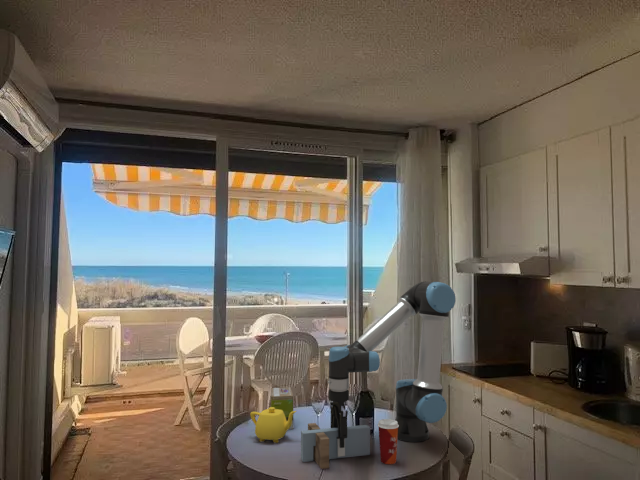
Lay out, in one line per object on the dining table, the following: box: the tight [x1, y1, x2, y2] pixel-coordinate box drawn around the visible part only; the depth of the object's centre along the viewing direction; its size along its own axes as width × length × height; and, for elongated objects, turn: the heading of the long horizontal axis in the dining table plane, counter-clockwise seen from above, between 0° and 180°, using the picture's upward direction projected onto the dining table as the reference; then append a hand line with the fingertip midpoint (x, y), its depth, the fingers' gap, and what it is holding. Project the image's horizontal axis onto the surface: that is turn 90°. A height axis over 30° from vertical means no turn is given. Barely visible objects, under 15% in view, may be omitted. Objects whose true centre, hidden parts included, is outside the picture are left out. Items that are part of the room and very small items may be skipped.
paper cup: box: [377, 418, 399, 465], centre depth 171 cm, size 8×8×14 cm
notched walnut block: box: [307, 422, 330, 470], centre depth 173 cm, size 18×3×10 cm, turn 16°
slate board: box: [300, 424, 371, 463], centre depth 175 cm, size 26×3×10 cm, turn 106°
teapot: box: [249, 406, 297, 444], centre depth 194 cm, size 13×20×12 cm
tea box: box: [270, 386, 294, 430], centre depth 212 cm, size 15×10×15 cm, turn 6°
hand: (338, 452), depth 175 cm, fingers open, 5 cm apart
